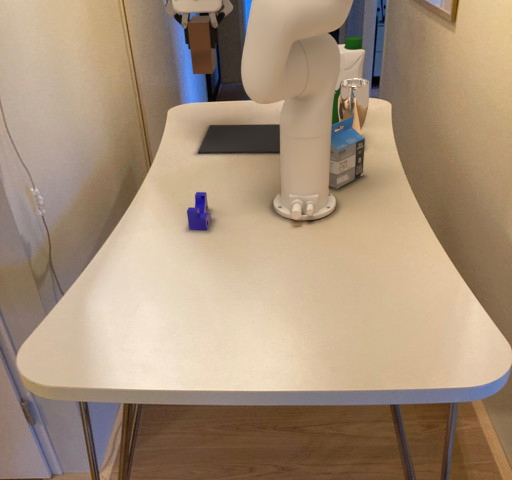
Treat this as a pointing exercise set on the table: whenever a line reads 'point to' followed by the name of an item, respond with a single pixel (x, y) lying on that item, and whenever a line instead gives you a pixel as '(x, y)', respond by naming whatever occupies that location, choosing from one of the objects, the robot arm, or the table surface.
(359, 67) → the milk carton
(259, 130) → the mat
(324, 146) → the robot arm
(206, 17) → the walnut block
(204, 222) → the cable holder
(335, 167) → the label tape box
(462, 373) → the table surface
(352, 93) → the silver metal cup
